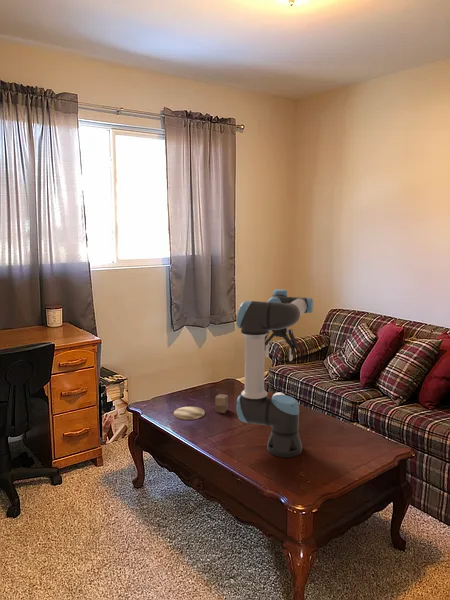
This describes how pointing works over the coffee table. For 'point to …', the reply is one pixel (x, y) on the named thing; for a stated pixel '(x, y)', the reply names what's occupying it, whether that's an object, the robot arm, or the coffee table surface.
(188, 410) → the plate
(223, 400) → the block
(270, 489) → the coffee table surface
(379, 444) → the coffee table surface
